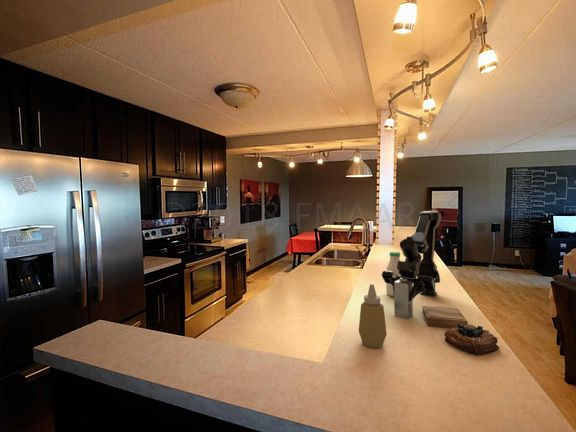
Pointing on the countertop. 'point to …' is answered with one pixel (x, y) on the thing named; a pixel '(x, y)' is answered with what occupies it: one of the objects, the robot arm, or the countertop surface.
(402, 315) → the housing
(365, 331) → the squeeze bottle
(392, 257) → the milk bottle
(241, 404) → the countertop surface
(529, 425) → the countertop surface
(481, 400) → the countertop surface
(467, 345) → the pastry
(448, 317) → the stand
